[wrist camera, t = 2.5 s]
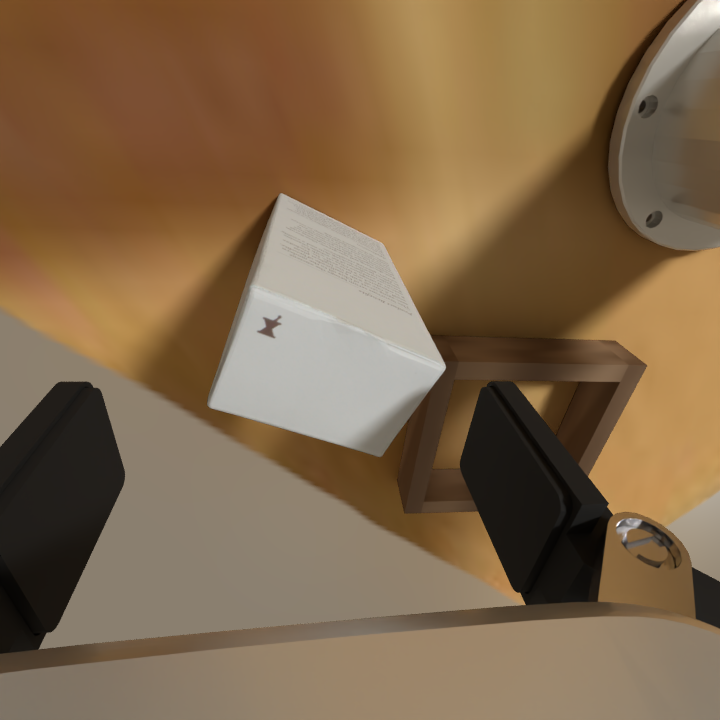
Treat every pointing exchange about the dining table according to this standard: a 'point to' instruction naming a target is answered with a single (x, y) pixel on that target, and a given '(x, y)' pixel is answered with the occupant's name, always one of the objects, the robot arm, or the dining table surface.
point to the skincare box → (325, 336)
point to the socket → (523, 363)
